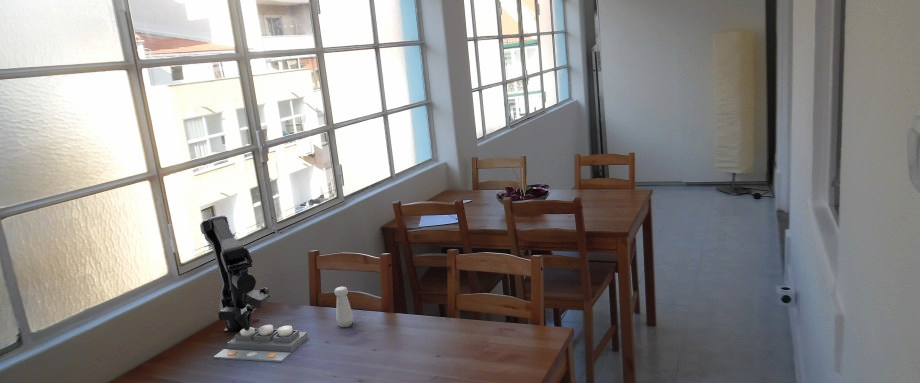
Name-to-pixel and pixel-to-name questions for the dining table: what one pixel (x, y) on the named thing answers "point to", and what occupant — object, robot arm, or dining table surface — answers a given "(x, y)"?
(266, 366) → the dining table surface
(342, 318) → the salt shaker
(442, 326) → the dining table surface
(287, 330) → the button right
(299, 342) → the button board
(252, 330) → the button left
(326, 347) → the dining table surface
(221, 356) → the pattern card
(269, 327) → the button middle
